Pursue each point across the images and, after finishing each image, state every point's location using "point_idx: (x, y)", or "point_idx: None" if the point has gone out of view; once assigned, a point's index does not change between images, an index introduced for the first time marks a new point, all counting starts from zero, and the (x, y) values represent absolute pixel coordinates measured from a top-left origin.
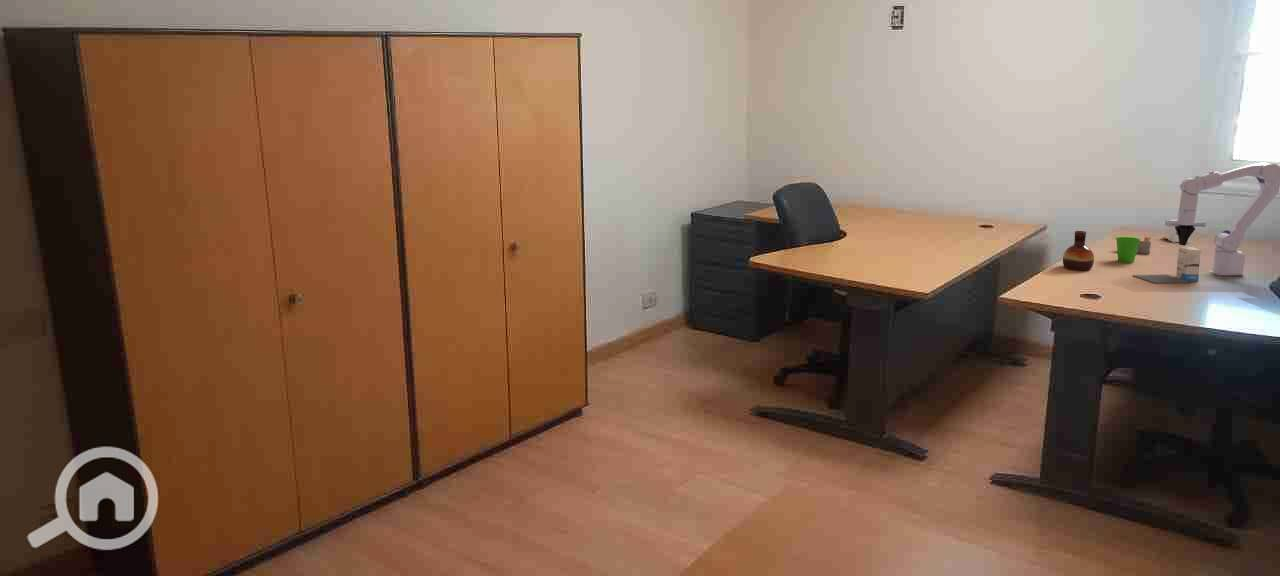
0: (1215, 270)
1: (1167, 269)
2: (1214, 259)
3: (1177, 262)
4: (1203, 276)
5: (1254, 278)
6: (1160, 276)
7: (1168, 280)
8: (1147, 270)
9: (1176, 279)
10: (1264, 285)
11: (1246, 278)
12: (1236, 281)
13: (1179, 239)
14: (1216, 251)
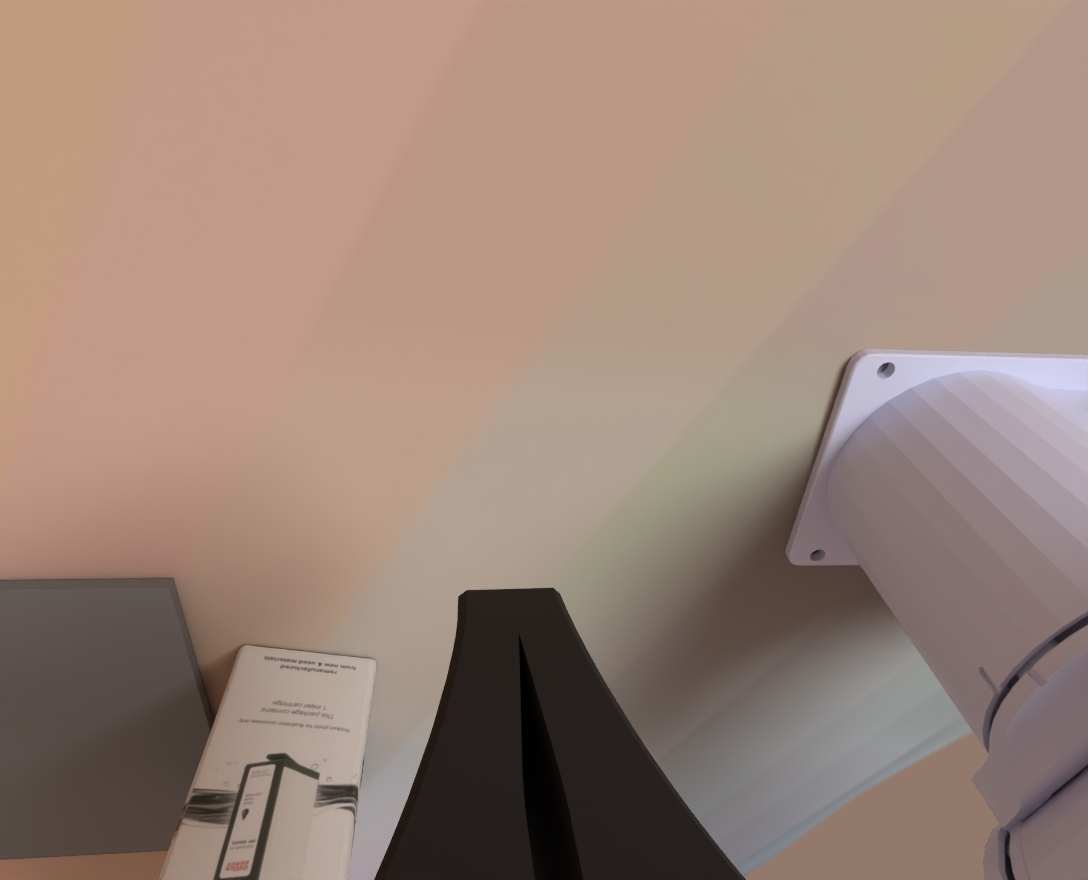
0: (840, 501)
1: (416, 119)
2: (933, 552)
3: (182, 810)
4: (566, 608)
5: (937, 685)
6: (50, 664)
7: (69, 805)
8: (19, 183)
9: (166, 774)
10: (743, 863)
11: (873, 685)
12: (675, 776)
13: (446, 723)
14: (994, 685)
